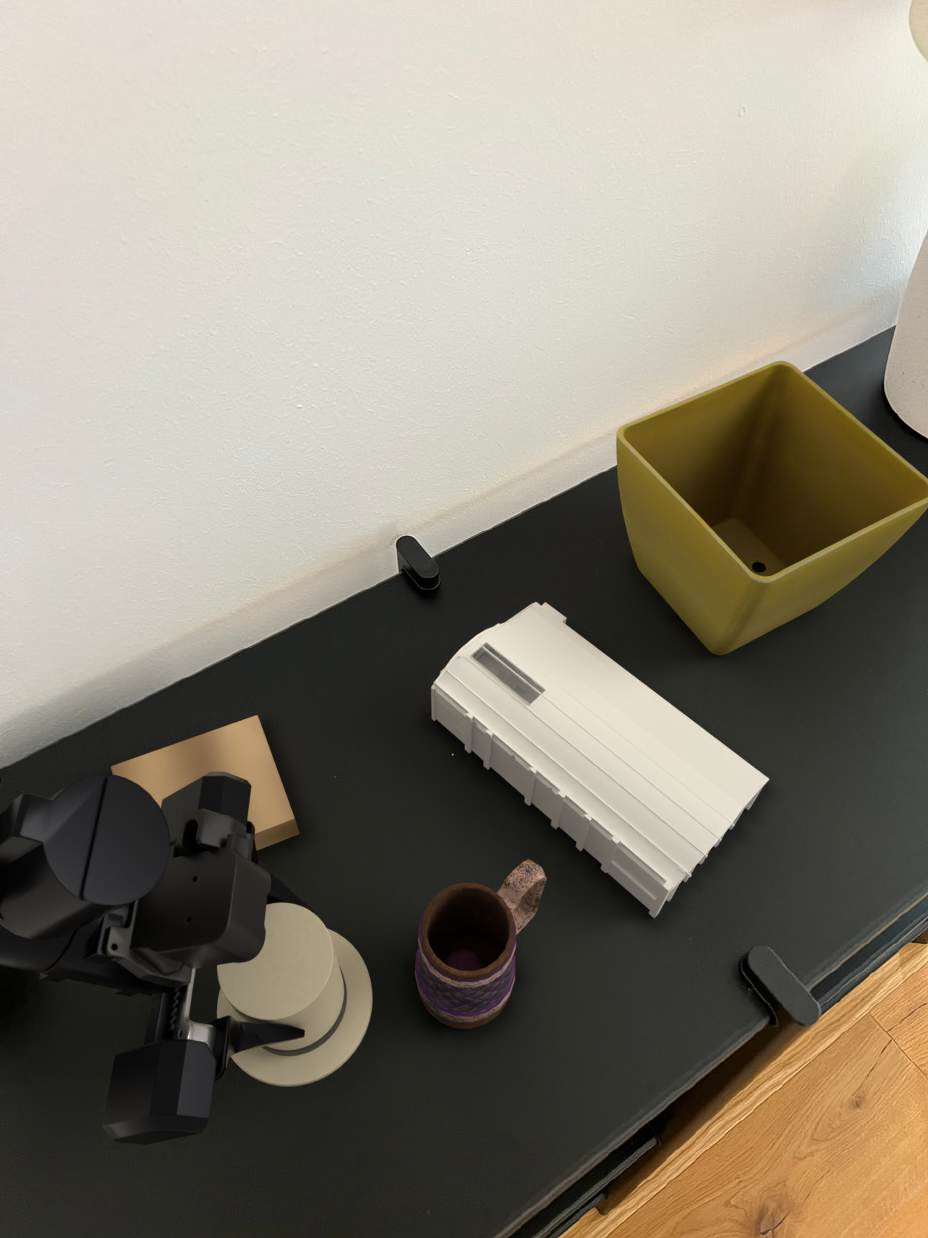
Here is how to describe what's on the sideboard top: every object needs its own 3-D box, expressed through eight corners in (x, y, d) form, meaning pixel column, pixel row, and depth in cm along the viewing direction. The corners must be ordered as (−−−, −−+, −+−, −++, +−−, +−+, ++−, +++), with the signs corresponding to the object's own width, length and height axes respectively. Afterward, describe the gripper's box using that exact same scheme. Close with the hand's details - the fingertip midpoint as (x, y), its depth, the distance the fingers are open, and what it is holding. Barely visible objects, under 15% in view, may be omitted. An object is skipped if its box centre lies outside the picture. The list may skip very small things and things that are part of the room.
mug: (457, 1054, 66) (460, 1009, 56) (395, 972, 69) (388, 917, 59) (565, 959, 70) (584, 902, 60) (501, 886, 73) (511, 821, 63)
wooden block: (148, 893, 72) (138, 878, 70) (120, 783, 78) (110, 766, 75) (299, 834, 75) (294, 818, 73) (263, 732, 81) (257, 714, 78)
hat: (243, 1115, 58) (213, 1085, 50) (201, 963, 63) (167, 914, 56) (395, 1045, 61) (388, 1006, 53) (342, 904, 66) (329, 849, 58)
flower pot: (709, 703, 83) (761, 584, 69) (586, 556, 93) (611, 427, 79) (868, 617, 89) (945, 492, 75) (737, 487, 98) (784, 356, 85)
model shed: (768, 796, 78) (793, 756, 72) (659, 923, 72) (677, 890, 66) (540, 621, 88) (547, 574, 82) (427, 719, 82) (426, 675, 76)
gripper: (102, 1097, 38) (392, 1134, 47) (178, 694, 49) (401, 788, 58) (-21, 1130, 44) (257, 1158, 53) (71, 766, 55) (288, 841, 64)
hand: (305, 974), depth 57 cm, fingers closed on hat, 6 cm apart
